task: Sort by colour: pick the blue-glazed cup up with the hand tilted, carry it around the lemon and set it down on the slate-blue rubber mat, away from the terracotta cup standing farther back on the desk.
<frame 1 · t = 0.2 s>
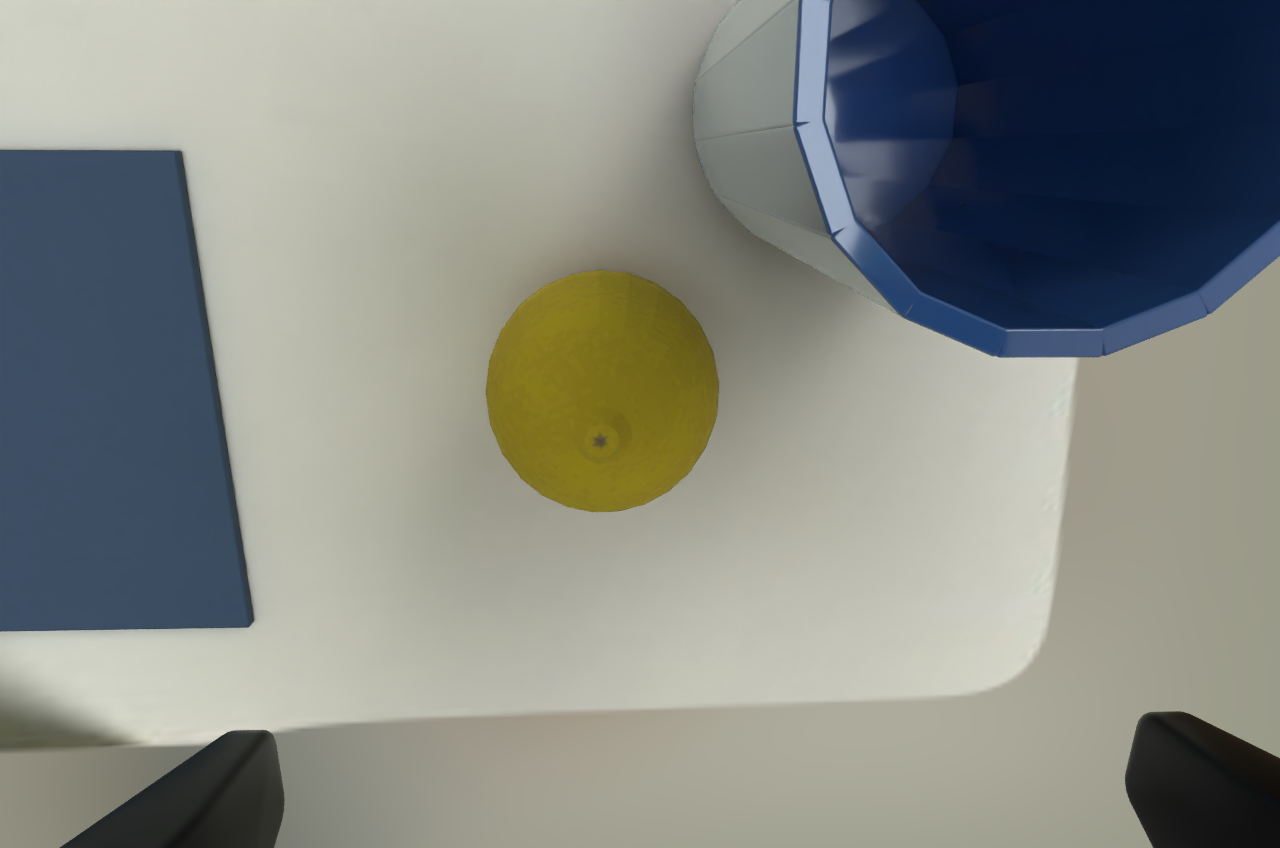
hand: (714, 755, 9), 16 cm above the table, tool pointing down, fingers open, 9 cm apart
blue cup: (827, 113, 22), on the table
lemon: (603, 349, 24), on the table
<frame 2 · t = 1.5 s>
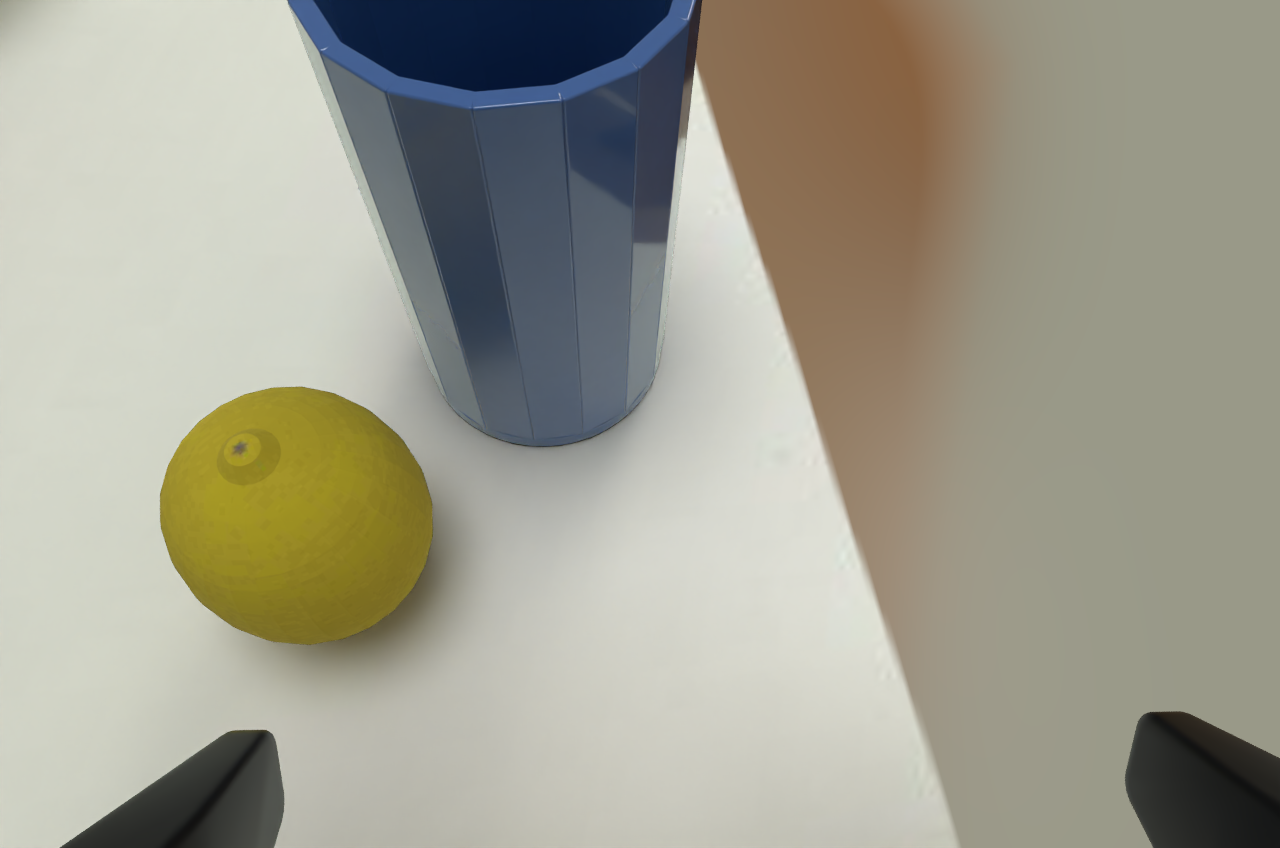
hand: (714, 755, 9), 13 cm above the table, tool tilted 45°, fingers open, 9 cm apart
blue cup: (546, 342, 27), on the table
lemon: (356, 570, 23), on the table
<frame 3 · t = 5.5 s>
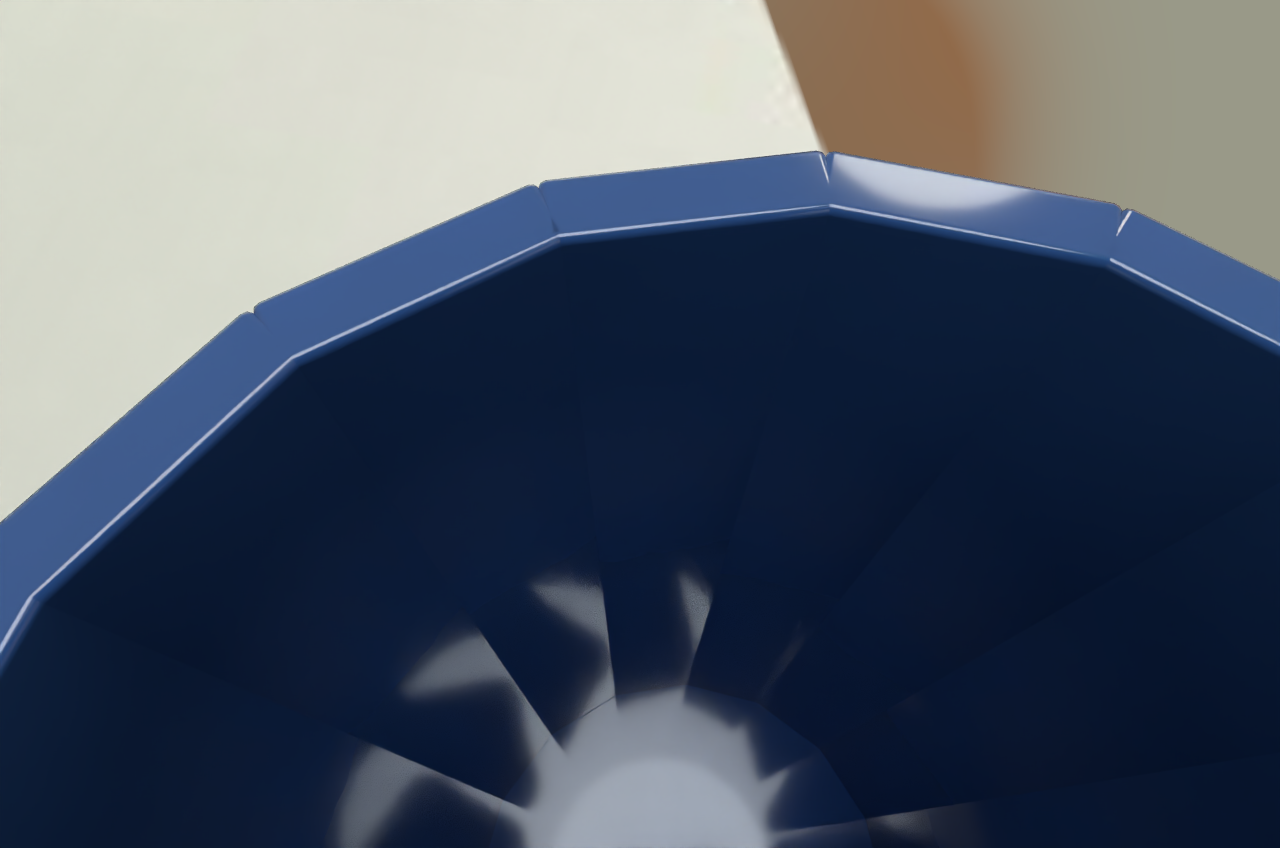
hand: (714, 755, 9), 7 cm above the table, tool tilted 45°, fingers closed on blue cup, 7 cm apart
when the fingers open (7 cm above the table, at t = 14.7 s): blue cup stays where it is, resting on blue mat.
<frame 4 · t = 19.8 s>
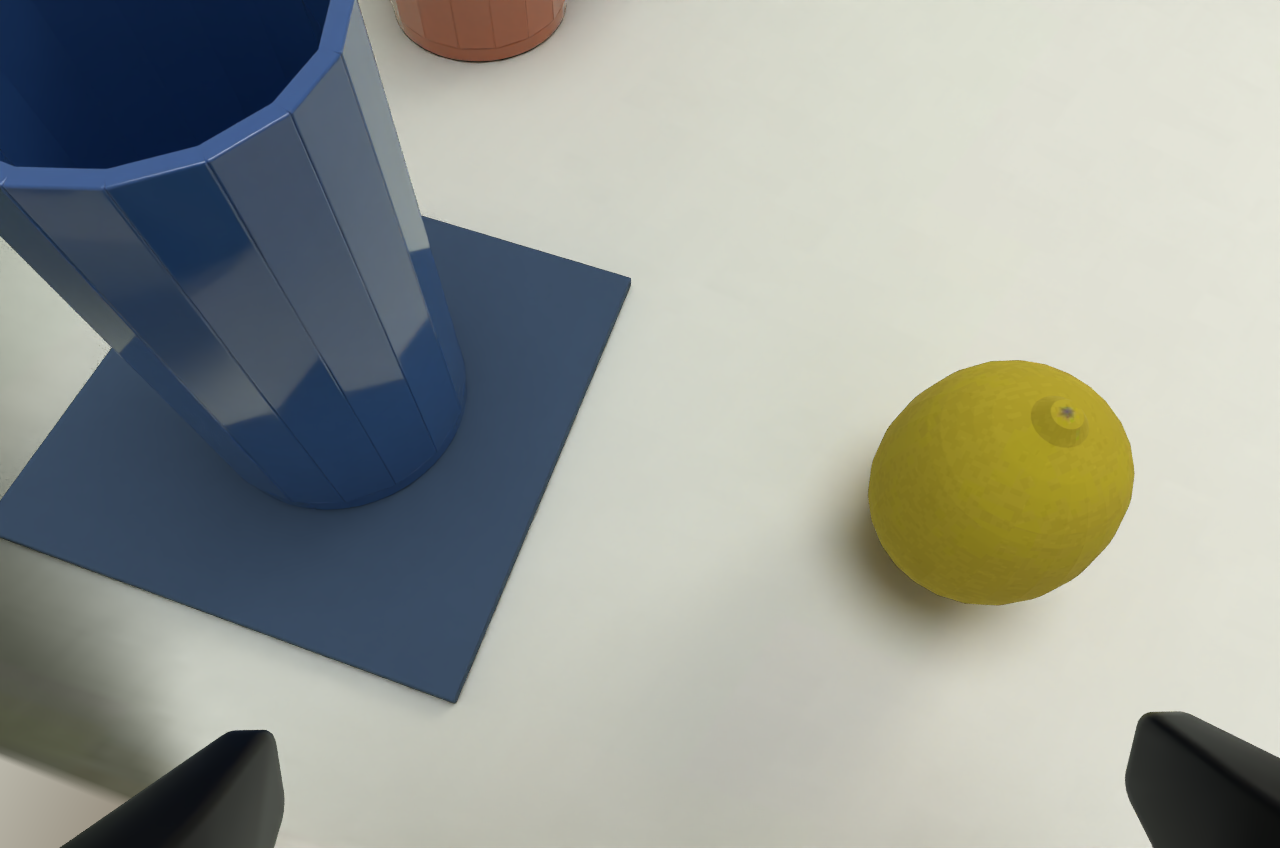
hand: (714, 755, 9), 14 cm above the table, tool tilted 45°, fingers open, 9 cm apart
blue cup: (345, 396, 25), resting on blue mat
lemon: (929, 541, 24), on the table
terracotta cup: (481, 1, 34), on the table
blue mat: (337, 398, 26), on the table
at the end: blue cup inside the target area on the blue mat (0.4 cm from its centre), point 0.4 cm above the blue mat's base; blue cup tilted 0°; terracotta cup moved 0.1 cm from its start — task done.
